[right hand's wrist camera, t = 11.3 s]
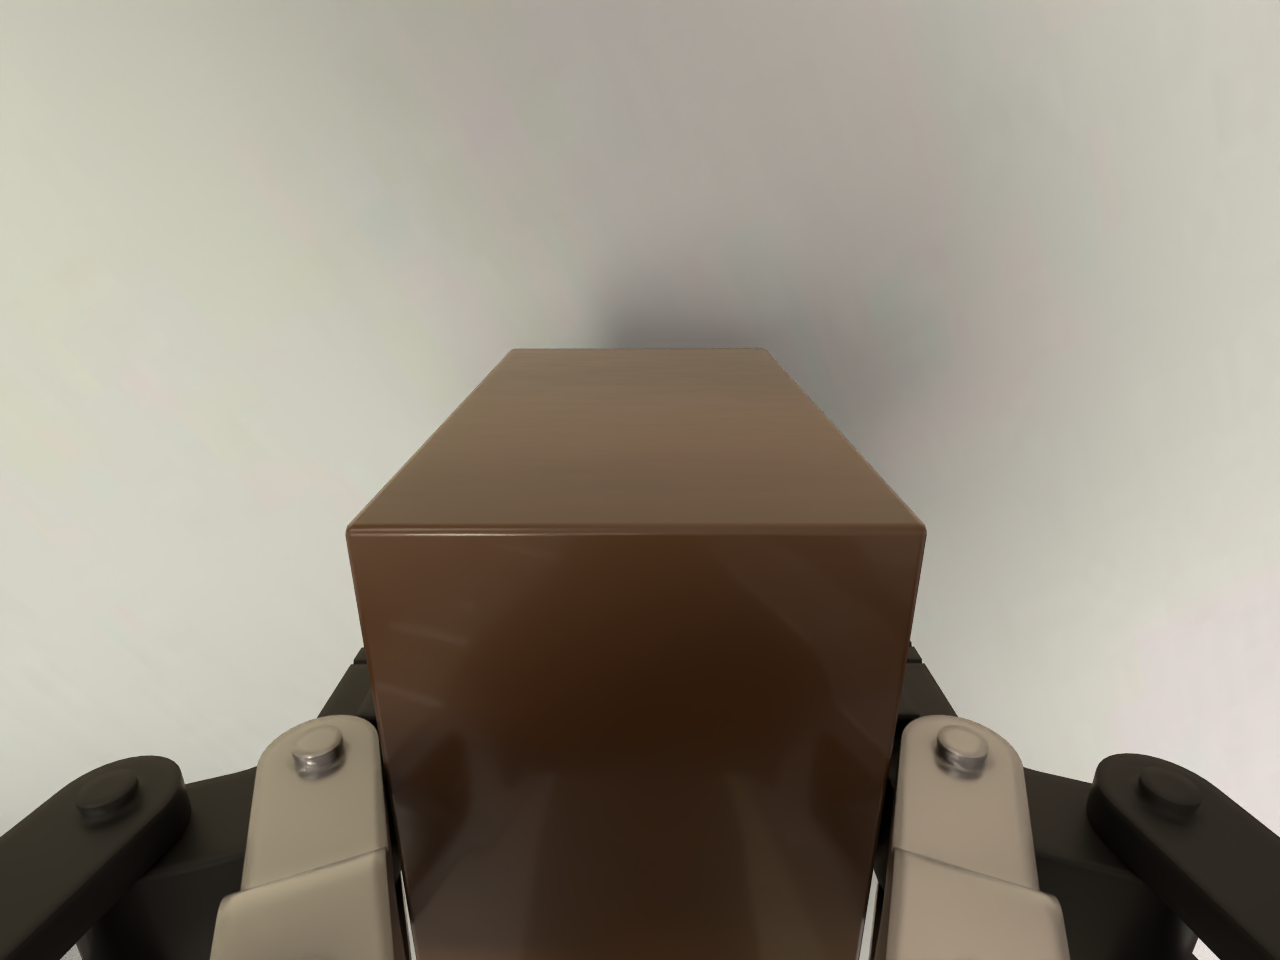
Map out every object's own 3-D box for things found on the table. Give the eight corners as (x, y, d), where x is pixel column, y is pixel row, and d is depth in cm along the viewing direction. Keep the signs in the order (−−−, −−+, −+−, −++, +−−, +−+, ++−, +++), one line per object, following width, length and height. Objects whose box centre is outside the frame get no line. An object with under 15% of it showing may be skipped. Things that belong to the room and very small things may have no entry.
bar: (510, 348, 15) (339, 527, 6) (766, 347, 15) (932, 526, 6) (558, 1057, 23) (512, 1538, 15) (721, 1056, 23) (769, 1539, 15)
